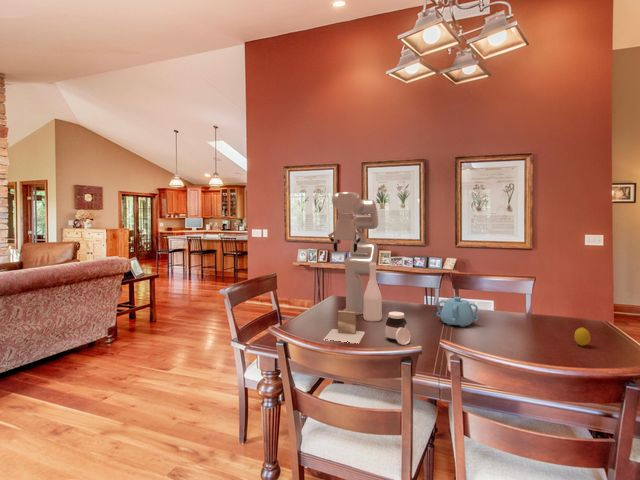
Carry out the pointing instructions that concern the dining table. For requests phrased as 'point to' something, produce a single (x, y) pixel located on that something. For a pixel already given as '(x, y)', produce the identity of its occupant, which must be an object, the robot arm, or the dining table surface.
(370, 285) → the wine bottle
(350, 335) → the mat
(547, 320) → the dining table surface
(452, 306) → the decorative pot
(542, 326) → the dining table surface
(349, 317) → the slab
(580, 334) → the lemon
